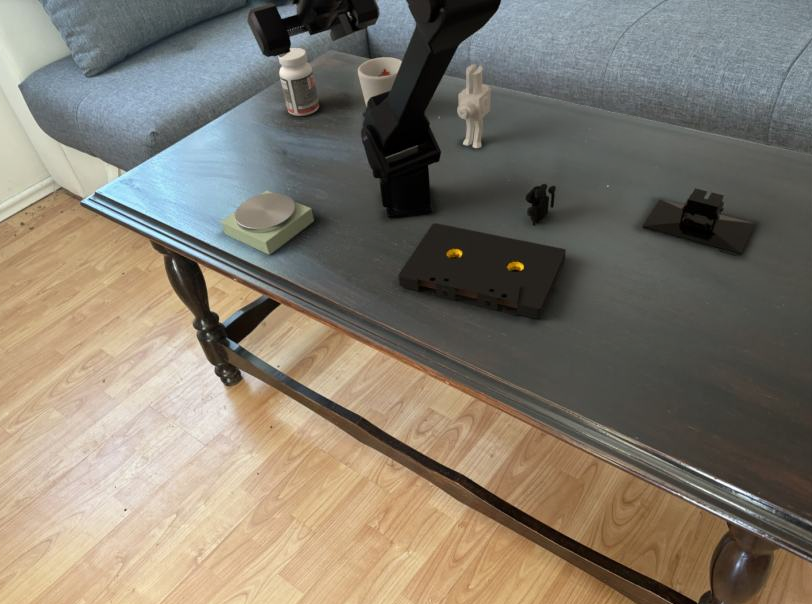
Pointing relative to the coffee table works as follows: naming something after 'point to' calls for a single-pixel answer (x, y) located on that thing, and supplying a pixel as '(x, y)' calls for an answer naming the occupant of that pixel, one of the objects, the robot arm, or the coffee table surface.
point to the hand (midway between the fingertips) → (306, 45)
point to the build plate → (700, 223)
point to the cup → (378, 76)
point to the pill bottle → (298, 83)
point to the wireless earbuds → (539, 202)
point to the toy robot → (474, 105)
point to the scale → (267, 221)
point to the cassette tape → (484, 270)
